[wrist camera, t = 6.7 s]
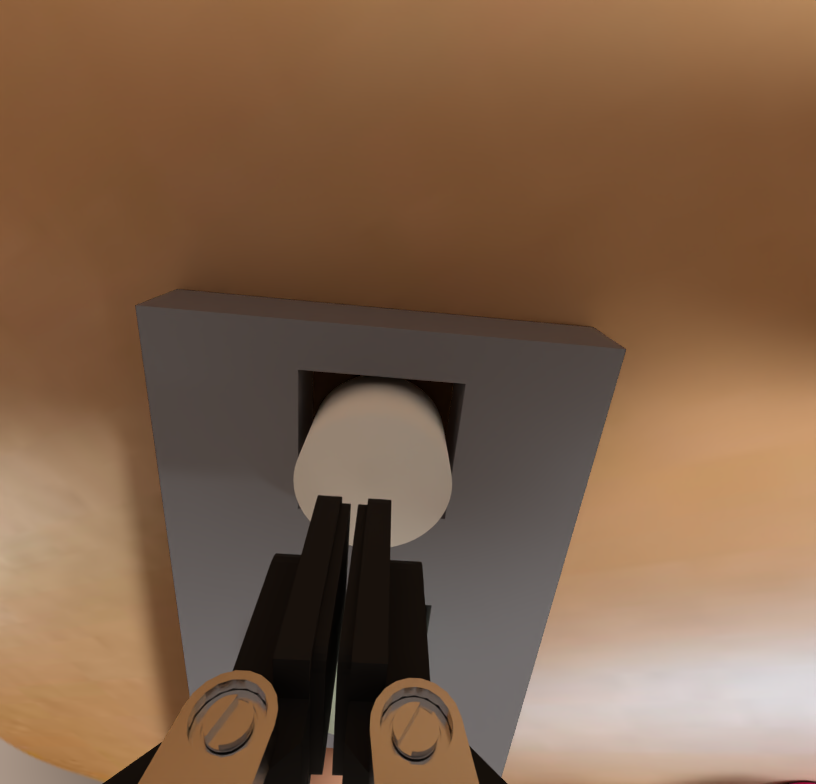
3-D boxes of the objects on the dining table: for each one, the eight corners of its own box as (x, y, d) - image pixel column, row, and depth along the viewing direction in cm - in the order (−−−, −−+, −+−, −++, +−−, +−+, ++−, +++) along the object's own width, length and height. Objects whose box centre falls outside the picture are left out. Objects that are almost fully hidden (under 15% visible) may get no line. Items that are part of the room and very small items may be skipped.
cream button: (314, 368, 14) (292, 408, 12) (451, 380, 15) (462, 422, 12) (312, 484, 16) (293, 543, 13) (435, 493, 16) (442, 553, 14)
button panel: (176, 289, 15) (135, 305, 13) (593, 327, 16) (626, 349, 13) (225, 764, 25) (207, 822, 23) (477, 776, 26) (484, 834, 23)
